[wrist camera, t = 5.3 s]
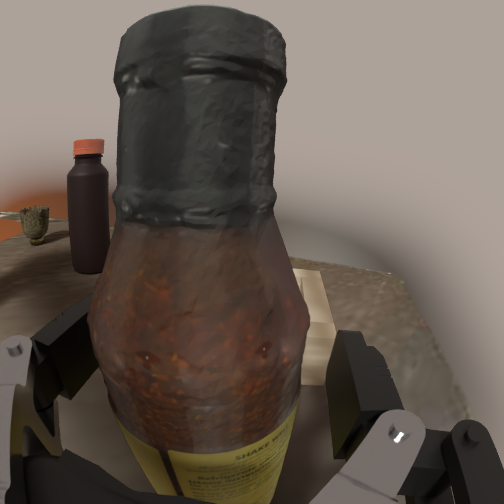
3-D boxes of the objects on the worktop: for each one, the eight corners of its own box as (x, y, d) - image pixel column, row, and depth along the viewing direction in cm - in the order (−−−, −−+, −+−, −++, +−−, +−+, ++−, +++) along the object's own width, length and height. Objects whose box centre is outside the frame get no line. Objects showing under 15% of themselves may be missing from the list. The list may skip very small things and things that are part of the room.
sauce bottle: (279, 467, 13) (353, 81, 7) (254, 548, 8) (383, -41, 2) (182, 440, 15) (171, 79, 9) (139, 508, 9) (37, 32, 3)
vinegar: (115, 259, 44) (114, 140, 38) (107, 275, 38) (104, 137, 32) (80, 259, 42) (76, 143, 36) (68, 275, 36) (61, 141, 30)
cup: (27, 240, 49) (24, 206, 47) (54, 237, 53) (51, 203, 50) (19, 250, 43) (15, 212, 40) (48, 247, 46) (44, 209, 44)
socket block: (161, 362, 22) (156, 314, 21) (202, 294, 36) (203, 258, 34) (323, 385, 21) (337, 338, 20) (312, 308, 34) (319, 271, 33)
